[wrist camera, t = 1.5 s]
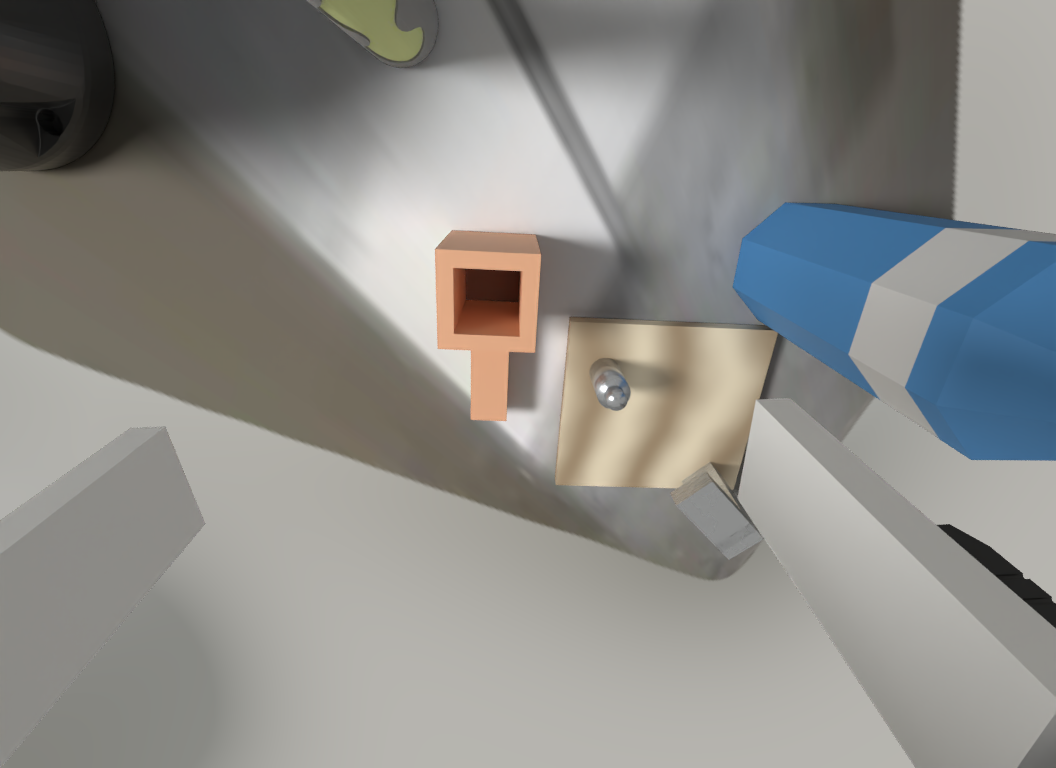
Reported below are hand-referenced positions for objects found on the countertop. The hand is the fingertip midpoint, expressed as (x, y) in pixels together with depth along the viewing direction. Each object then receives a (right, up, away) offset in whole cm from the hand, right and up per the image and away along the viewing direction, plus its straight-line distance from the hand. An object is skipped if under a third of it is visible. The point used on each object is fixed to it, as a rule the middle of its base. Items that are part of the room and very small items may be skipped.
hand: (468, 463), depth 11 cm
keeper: (+14, -4, +31) cm, 35 cm away
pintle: (+7, +3, +27) cm, 28 cm away
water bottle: (+21, +11, +25) cm, 35 cm away
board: (+12, 0, +30) cm, 32 cm away
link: (-1, +6, +26) cm, 27 cm away
